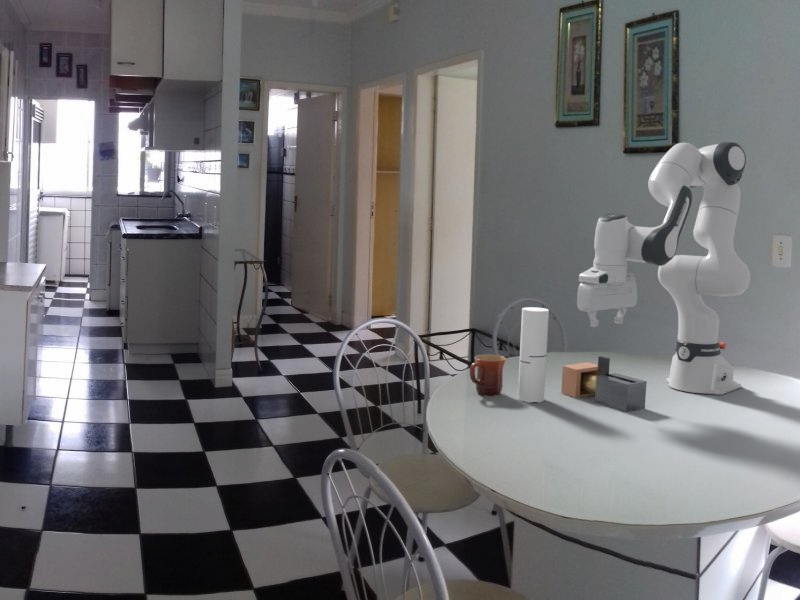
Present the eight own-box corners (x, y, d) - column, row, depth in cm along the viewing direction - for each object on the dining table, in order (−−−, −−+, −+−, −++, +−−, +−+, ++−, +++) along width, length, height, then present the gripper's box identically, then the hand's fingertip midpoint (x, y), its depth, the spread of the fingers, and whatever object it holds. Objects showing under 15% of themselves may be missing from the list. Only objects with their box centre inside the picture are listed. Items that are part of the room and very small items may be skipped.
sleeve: (613, 398, 222) (615, 372, 221) (644, 408, 213) (646, 381, 212) (594, 402, 218) (596, 375, 217) (625, 412, 209) (627, 384, 208)
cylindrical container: (543, 403, 216) (548, 312, 212) (516, 401, 217) (521, 310, 214) (544, 396, 223) (549, 308, 219) (518, 394, 224) (522, 306, 221)
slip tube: (583, 387, 230) (586, 350, 228) (616, 397, 220) (618, 358, 218) (571, 389, 227) (573, 352, 225) (603, 399, 217) (606, 360, 216)
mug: (487, 388, 231) (489, 353, 229) (511, 394, 224) (512, 358, 223) (458, 394, 223) (459, 358, 222) (481, 401, 217) (483, 364, 215)
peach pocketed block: (586, 389, 232) (587, 362, 231) (600, 393, 228) (601, 365, 227) (561, 393, 227) (562, 365, 226) (575, 397, 222) (576, 369, 221)
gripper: (626, 271, 224) (623, 319, 227) (574, 275, 213) (571, 326, 215) (644, 273, 219) (641, 323, 221) (592, 278, 208) (589, 330, 210)
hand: (606, 325), depth 218 cm, fingers open, 8 cm apart
